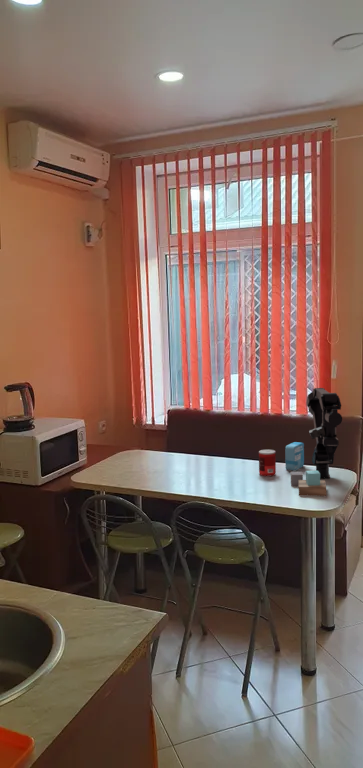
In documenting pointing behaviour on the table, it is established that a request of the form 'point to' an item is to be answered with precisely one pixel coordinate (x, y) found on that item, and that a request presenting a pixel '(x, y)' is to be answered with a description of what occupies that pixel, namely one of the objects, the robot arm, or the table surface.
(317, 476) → the teal cube
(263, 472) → the canned food
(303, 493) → the walnut base block
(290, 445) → the data package
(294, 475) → the gray cube
